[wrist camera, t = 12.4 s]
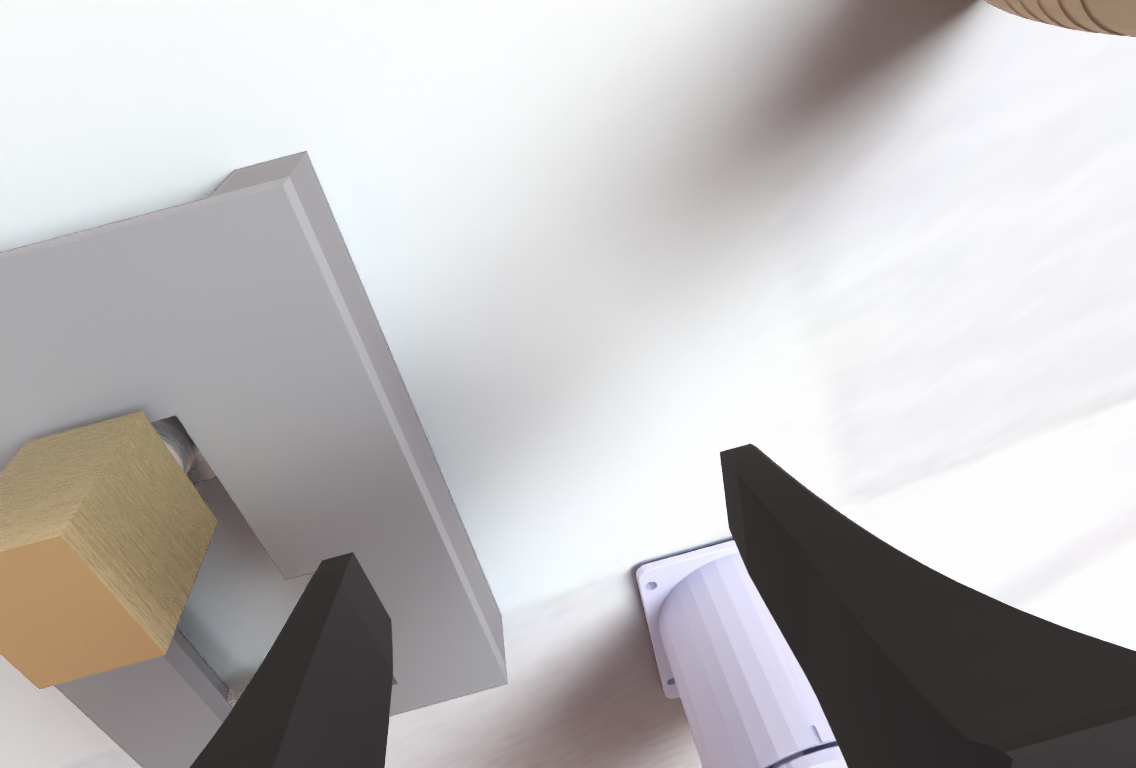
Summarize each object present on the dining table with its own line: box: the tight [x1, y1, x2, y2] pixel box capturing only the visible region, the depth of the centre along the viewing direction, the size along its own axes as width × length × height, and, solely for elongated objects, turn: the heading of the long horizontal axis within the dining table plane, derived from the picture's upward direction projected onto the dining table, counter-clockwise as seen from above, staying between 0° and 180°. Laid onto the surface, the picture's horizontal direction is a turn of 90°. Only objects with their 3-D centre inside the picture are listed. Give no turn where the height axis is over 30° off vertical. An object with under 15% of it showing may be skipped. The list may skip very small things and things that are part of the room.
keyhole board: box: [0, 151, 508, 768], centre depth 23 cm, size 20×14×3 cm
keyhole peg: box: [0, 411, 218, 689], centre depth 18 cm, size 5×5×8 cm
